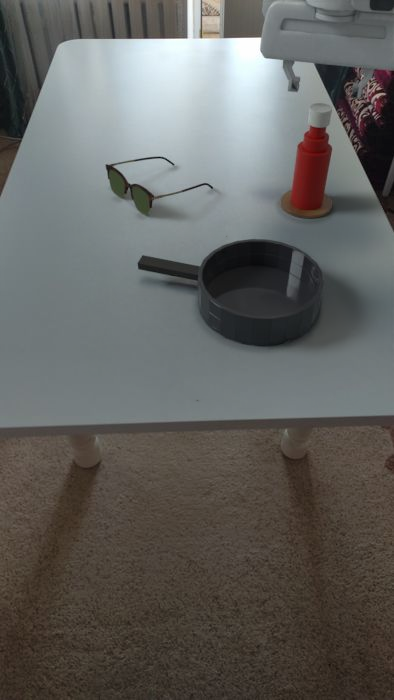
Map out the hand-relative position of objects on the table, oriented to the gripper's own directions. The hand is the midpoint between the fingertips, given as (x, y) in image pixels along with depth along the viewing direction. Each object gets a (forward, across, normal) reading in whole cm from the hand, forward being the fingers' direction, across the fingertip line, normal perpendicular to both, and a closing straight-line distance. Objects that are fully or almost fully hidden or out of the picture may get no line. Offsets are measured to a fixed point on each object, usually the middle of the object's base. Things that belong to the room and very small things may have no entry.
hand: (324, 94), depth 83 cm
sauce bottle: (+18, 0, 0) cm, 18 cm away
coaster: (+19, 0, 0) cm, 19 cm away
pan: (+19, -2, -28) cm, 34 cm away
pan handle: (+16, -15, -28) cm, 36 cm away
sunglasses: (+19, -26, -3) cm, 33 cm away
